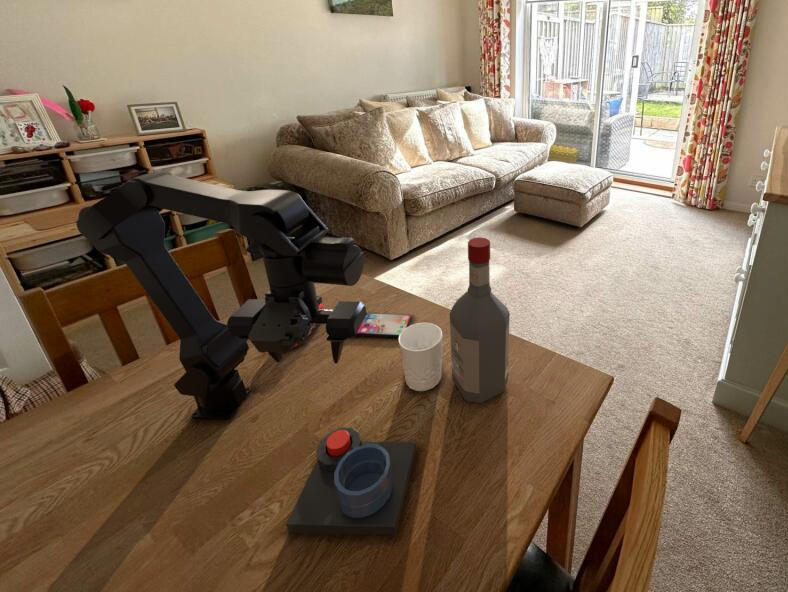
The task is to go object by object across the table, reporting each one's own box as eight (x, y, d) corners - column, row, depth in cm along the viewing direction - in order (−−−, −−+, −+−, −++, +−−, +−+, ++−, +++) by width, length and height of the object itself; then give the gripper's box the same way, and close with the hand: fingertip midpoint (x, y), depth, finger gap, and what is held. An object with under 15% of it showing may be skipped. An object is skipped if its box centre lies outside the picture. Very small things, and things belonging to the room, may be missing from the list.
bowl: (330, 519, 52) (324, 494, 51) (350, 467, 59) (346, 443, 57) (384, 521, 52) (380, 495, 51) (398, 468, 59) (395, 444, 57)
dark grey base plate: (288, 533, 53) (283, 516, 51) (330, 442, 65) (327, 426, 63) (395, 535, 53) (393, 518, 51) (418, 444, 65) (416, 428, 63)
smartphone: (403, 336, 87) (335, 333, 88) (403, 338, 88) (336, 335, 88) (413, 314, 94) (350, 311, 95) (413, 316, 95) (350, 313, 95)
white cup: (435, 397, 73) (432, 354, 70) (395, 390, 75) (390, 347, 71) (450, 366, 81) (448, 325, 77) (413, 360, 82) (409, 319, 78)
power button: (324, 456, 59) (322, 449, 59) (333, 436, 62) (331, 429, 62) (345, 456, 59) (344, 449, 59) (353, 437, 62) (352, 430, 62)
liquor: (469, 410, 71) (466, 261, 60) (448, 377, 78) (441, 237, 67) (513, 389, 76) (517, 246, 64) (489, 359, 83) (489, 226, 72)
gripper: (185, 309, 51) (216, 400, 57) (331, 312, 52) (347, 403, 57) (240, 265, 62) (261, 346, 68) (361, 268, 62) (372, 349, 68)
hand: (308, 361), depth 65 cm, fingers open, 9 cm apart
